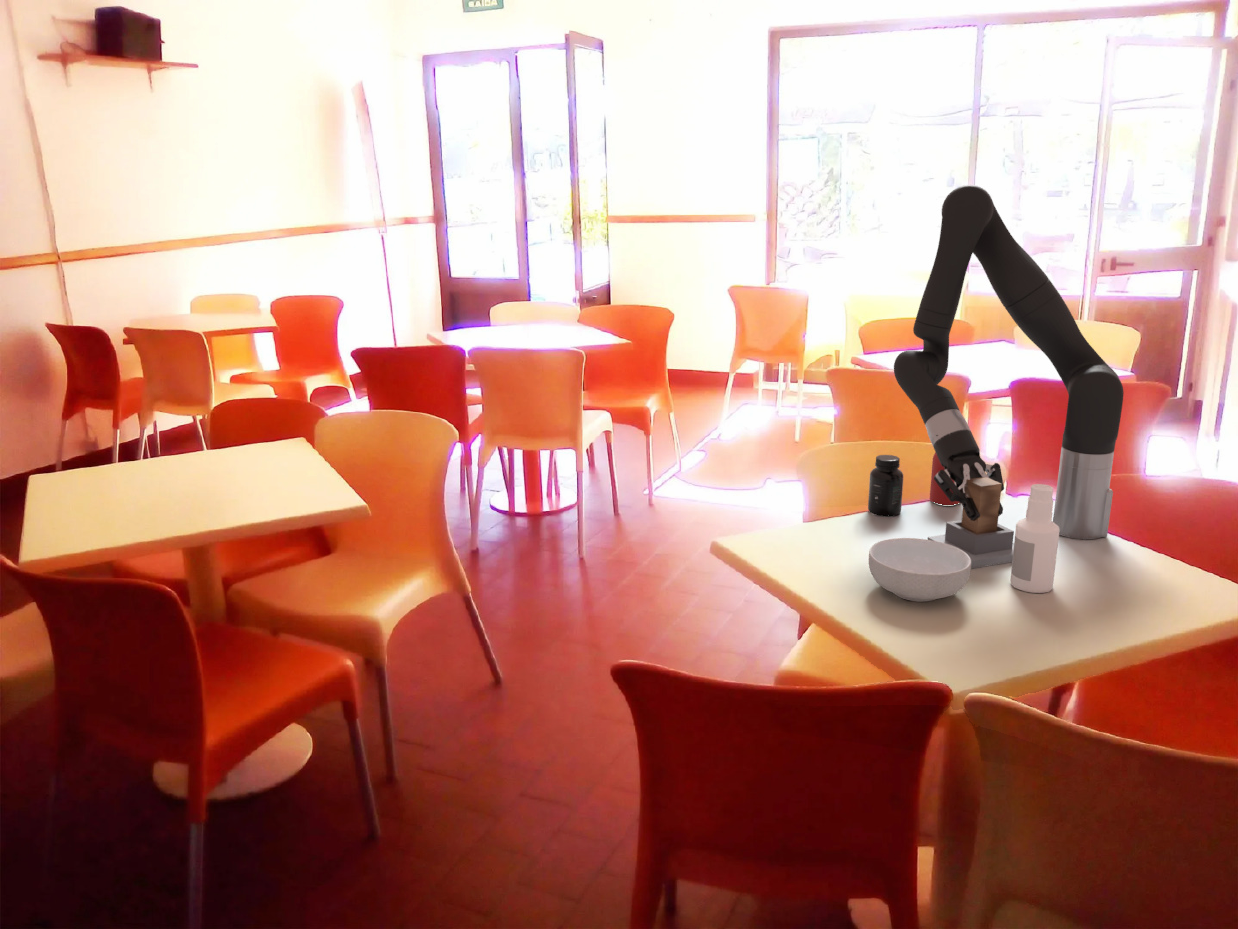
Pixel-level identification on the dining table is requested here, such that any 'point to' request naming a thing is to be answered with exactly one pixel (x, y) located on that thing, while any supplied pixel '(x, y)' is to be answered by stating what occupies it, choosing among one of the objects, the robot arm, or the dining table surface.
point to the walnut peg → (983, 505)
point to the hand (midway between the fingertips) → (987, 516)
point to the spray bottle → (1036, 544)
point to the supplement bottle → (886, 487)
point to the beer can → (935, 490)
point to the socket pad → (980, 544)
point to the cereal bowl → (919, 568)
